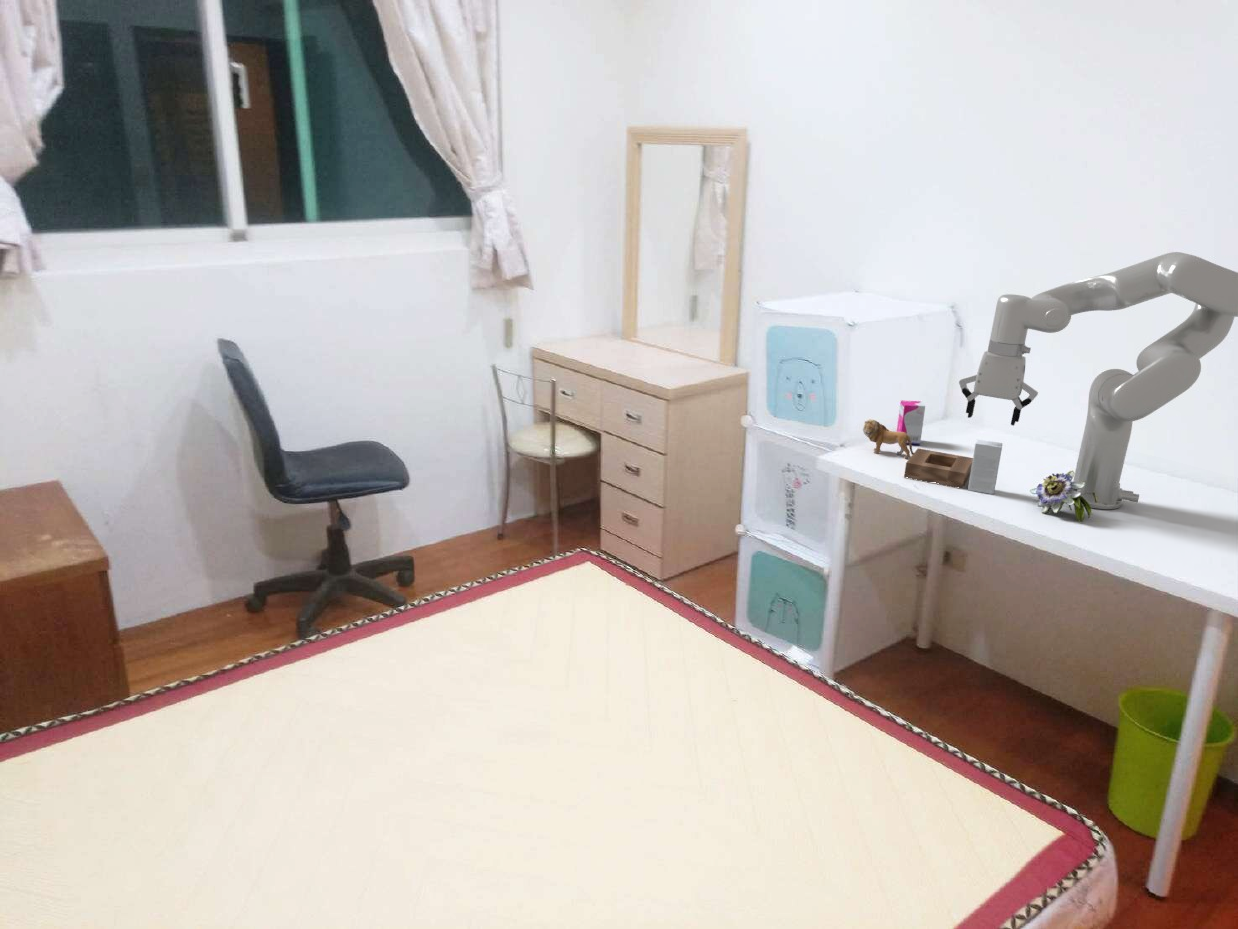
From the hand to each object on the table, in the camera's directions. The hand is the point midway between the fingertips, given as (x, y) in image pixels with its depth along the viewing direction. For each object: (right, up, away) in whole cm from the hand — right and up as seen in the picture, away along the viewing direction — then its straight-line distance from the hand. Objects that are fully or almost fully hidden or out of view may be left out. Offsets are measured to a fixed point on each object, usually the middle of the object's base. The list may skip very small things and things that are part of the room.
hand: (991, 420), depth 213 cm
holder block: (-7, -13, +15) cm, 21 cm away
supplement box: (-7, -4, +41) cm, 42 cm away
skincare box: (0, -17, +6) cm, 18 cm away
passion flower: (+13, -22, -6) cm, 26 cm away
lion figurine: (-16, -8, +30) cm, 35 cm away
